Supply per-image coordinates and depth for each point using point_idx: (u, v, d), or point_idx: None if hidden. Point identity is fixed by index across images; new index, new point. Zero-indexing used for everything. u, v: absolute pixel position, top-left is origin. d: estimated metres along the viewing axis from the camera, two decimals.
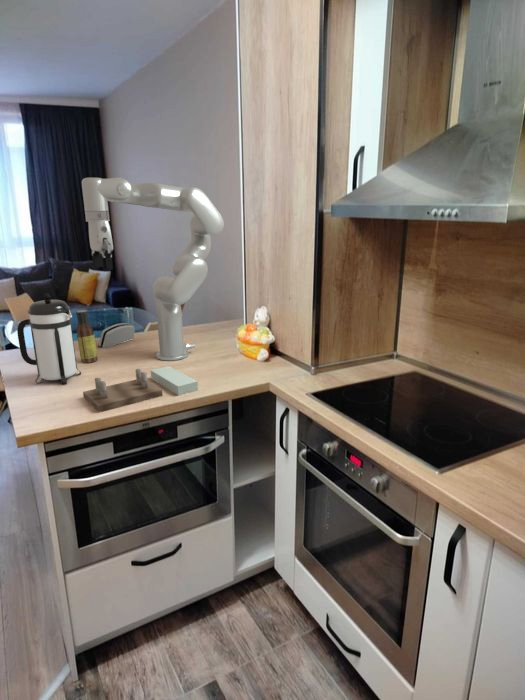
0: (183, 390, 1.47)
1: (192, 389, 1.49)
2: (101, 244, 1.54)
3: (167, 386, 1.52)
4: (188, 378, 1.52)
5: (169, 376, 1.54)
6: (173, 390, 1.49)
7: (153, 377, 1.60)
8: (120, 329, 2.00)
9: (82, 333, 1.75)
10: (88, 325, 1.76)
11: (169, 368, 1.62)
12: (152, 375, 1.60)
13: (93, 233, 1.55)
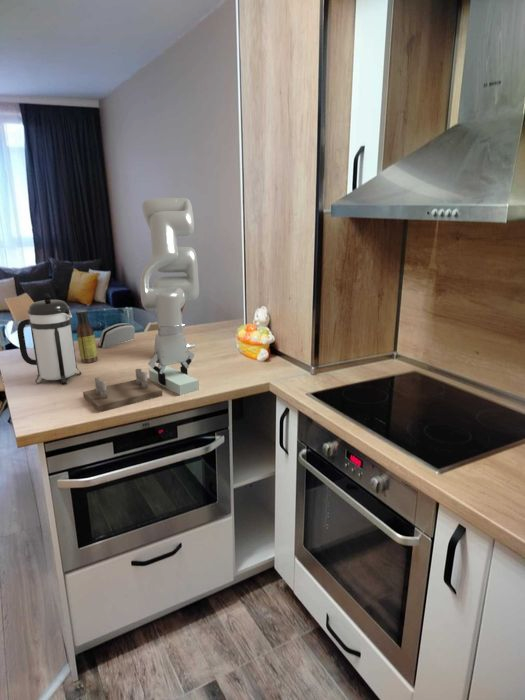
0: (184, 389, 1.47)
1: (193, 388, 1.49)
2: None
3: (167, 385, 1.51)
4: (188, 377, 1.52)
5: (169, 375, 1.54)
6: (174, 389, 1.48)
7: (152, 377, 1.59)
8: (120, 329, 1.99)
9: (82, 333, 1.75)
10: (88, 325, 1.76)
11: (167, 367, 1.62)
12: (150, 375, 1.59)
13: (178, 346, 1.51)
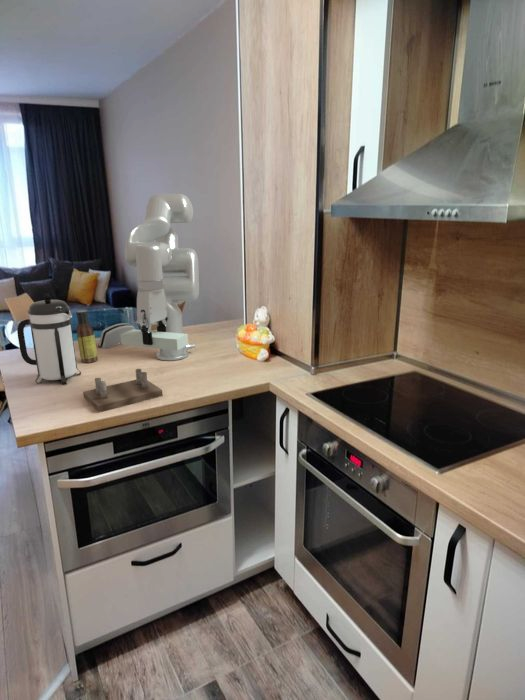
0: (180, 343, 1.43)
1: (185, 342, 1.46)
2: None
3: (155, 344, 1.44)
4: (174, 333, 1.48)
5: (152, 335, 1.46)
6: (167, 346, 1.43)
7: (126, 341, 1.47)
8: (120, 329, 1.99)
9: (82, 333, 1.75)
10: (88, 325, 1.76)
11: (138, 330, 1.52)
12: (124, 339, 1.47)
13: (161, 302, 1.45)
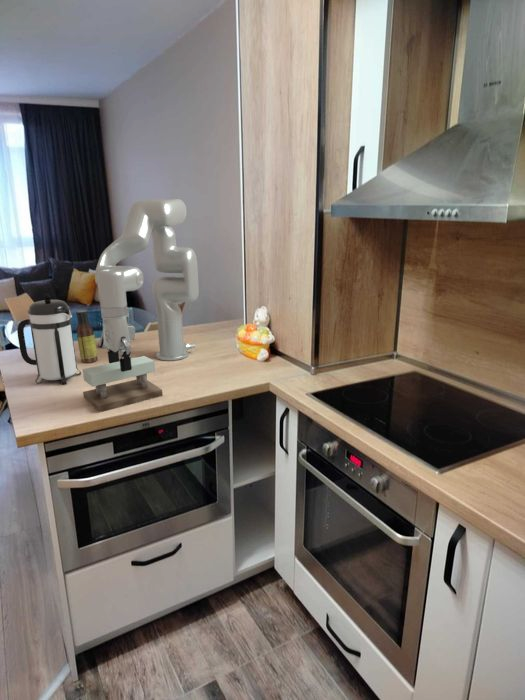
0: None
1: None
2: None
3: (132, 373, 1.42)
4: (133, 359, 1.48)
5: None
6: (145, 370, 1.45)
7: (98, 380, 1.36)
8: None
9: (82, 333, 1.75)
10: (88, 325, 1.76)
11: (92, 368, 1.40)
12: (96, 379, 1.35)
13: None
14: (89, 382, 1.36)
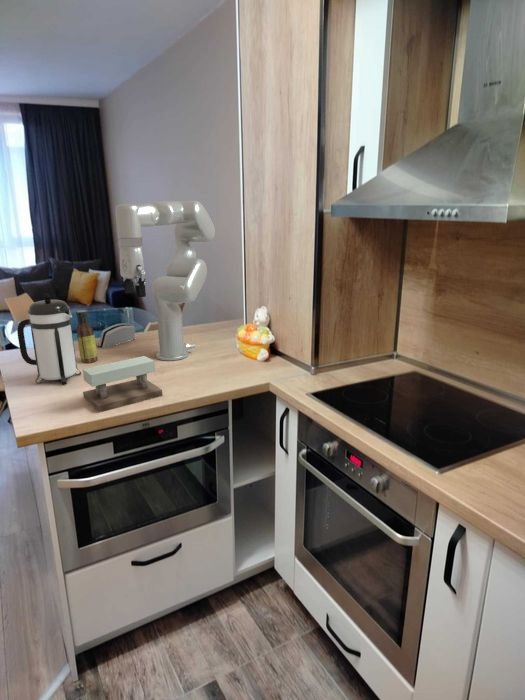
0: None
1: None
2: None
3: (132, 373, 1.42)
4: (133, 359, 1.48)
5: (120, 365, 1.42)
6: (145, 370, 1.45)
7: (98, 380, 1.36)
8: (120, 329, 1.99)
9: (82, 333, 1.75)
10: (88, 325, 1.76)
11: (92, 368, 1.40)
12: (96, 379, 1.35)
13: None
14: (89, 382, 1.36)
